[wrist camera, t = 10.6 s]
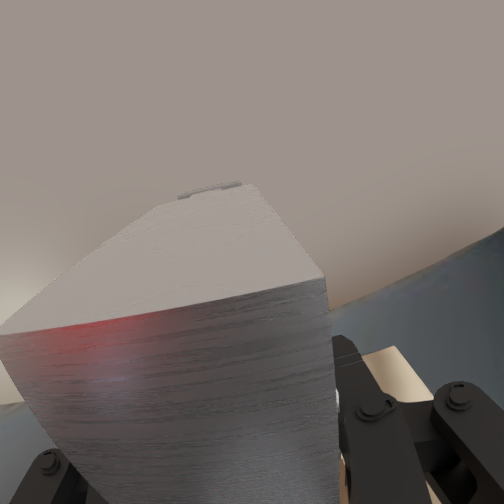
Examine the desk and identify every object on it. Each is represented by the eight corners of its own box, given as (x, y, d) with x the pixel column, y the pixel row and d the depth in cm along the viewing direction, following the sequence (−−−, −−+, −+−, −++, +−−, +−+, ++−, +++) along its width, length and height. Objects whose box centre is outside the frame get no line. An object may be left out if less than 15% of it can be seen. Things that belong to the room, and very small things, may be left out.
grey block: (292, 403, 16) (247, 177, 13) (336, 588, 6) (325, 277, 2) (238, 413, 16) (175, 194, 13) (249, 601, 6) (-12, 335, 2)
